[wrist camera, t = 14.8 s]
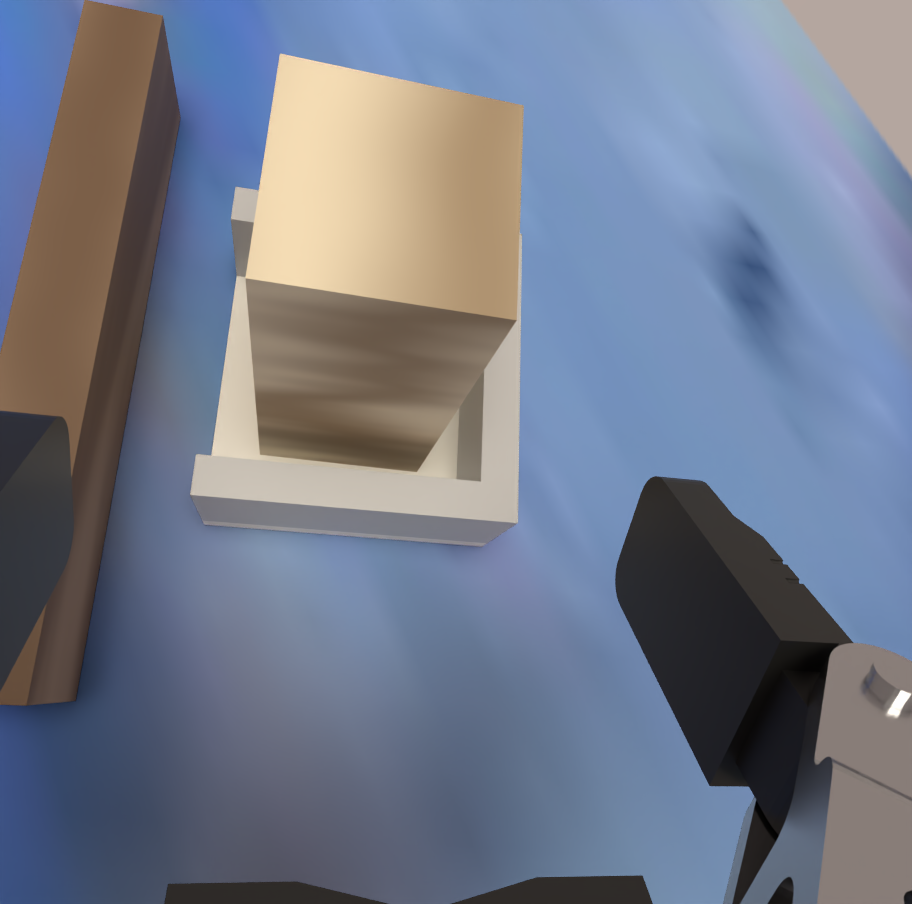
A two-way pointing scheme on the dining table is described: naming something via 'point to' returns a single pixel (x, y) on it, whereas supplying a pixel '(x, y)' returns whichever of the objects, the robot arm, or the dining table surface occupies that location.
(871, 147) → the dining table surface
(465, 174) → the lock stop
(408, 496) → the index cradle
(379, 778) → the dining table surface
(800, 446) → the dining table surface
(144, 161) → the rail
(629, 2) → the dining table surface
